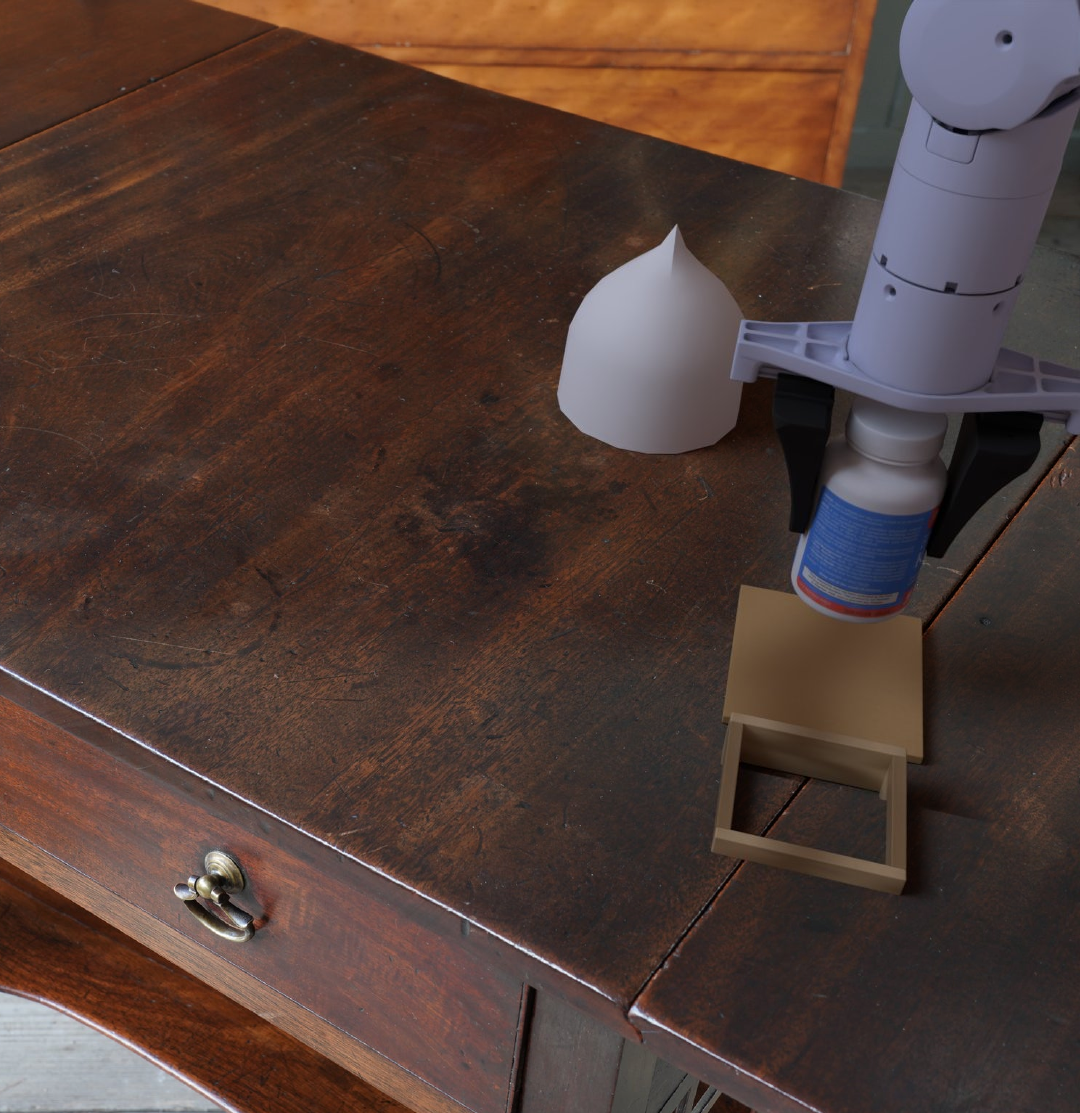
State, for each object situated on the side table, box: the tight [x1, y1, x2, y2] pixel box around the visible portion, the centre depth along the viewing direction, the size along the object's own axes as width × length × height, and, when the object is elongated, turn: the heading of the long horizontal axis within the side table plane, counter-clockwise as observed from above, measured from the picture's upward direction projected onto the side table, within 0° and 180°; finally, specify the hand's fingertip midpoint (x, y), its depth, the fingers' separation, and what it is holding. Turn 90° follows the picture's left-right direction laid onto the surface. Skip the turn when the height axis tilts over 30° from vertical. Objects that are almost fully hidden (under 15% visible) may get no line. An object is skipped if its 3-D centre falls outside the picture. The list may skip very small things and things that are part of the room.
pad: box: [721, 583, 924, 765], centre depth 71 cm, size 9×10×1 cm
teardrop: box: [556, 223, 746, 455], centre depth 86 cm, size 11×11×12 cm
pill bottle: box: [790, 395, 949, 624], centre depth 65 cm, size 6×5×10 cm
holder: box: [710, 712, 908, 896], centre depth 63 cm, size 8×8×2 cm
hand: (866, 532), depth 66 cm, fingers closed on pill bottle, 5 cm apart
